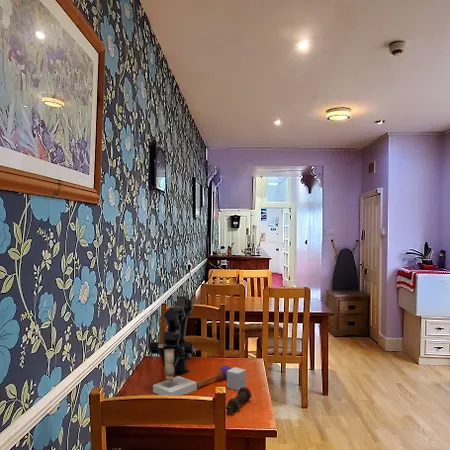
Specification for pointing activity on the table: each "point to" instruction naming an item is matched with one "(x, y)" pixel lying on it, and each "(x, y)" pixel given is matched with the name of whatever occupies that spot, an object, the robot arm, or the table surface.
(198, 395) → the table surface
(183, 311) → the robot arm
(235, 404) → the bolt
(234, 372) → the product box
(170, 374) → the peg
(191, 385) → the board
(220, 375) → the kendama
